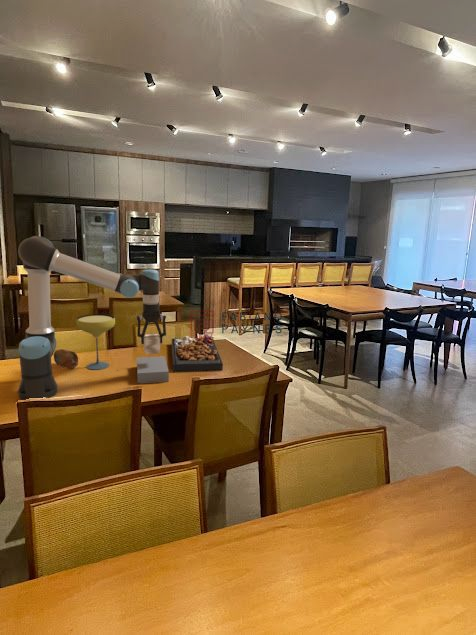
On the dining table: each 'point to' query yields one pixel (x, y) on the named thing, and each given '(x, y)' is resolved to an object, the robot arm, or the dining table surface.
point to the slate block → (152, 369)
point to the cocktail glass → (96, 332)
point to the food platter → (195, 354)
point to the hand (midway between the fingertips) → (152, 350)
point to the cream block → (152, 343)
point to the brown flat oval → (66, 358)
